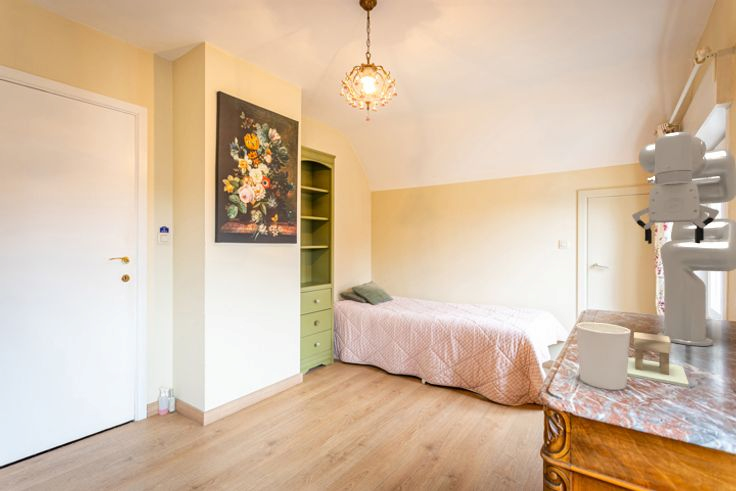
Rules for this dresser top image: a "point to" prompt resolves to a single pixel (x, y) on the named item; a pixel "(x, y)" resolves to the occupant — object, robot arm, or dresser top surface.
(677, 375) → the felt mat
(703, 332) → the robot arm
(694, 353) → the dresser top surface
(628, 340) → the candle holder
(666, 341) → the footstool
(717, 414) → the dresser top surface
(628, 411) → the dresser top surface
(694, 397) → the dresser top surface
